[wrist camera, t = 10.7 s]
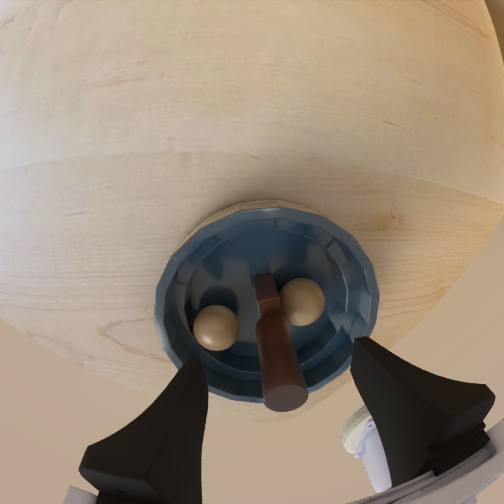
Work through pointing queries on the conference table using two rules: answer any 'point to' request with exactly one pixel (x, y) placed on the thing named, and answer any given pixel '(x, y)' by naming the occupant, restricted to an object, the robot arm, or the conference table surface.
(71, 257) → the conference table surface
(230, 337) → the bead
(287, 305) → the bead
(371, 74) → the conference table surface
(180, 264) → the bowl
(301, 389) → the stir paddle
